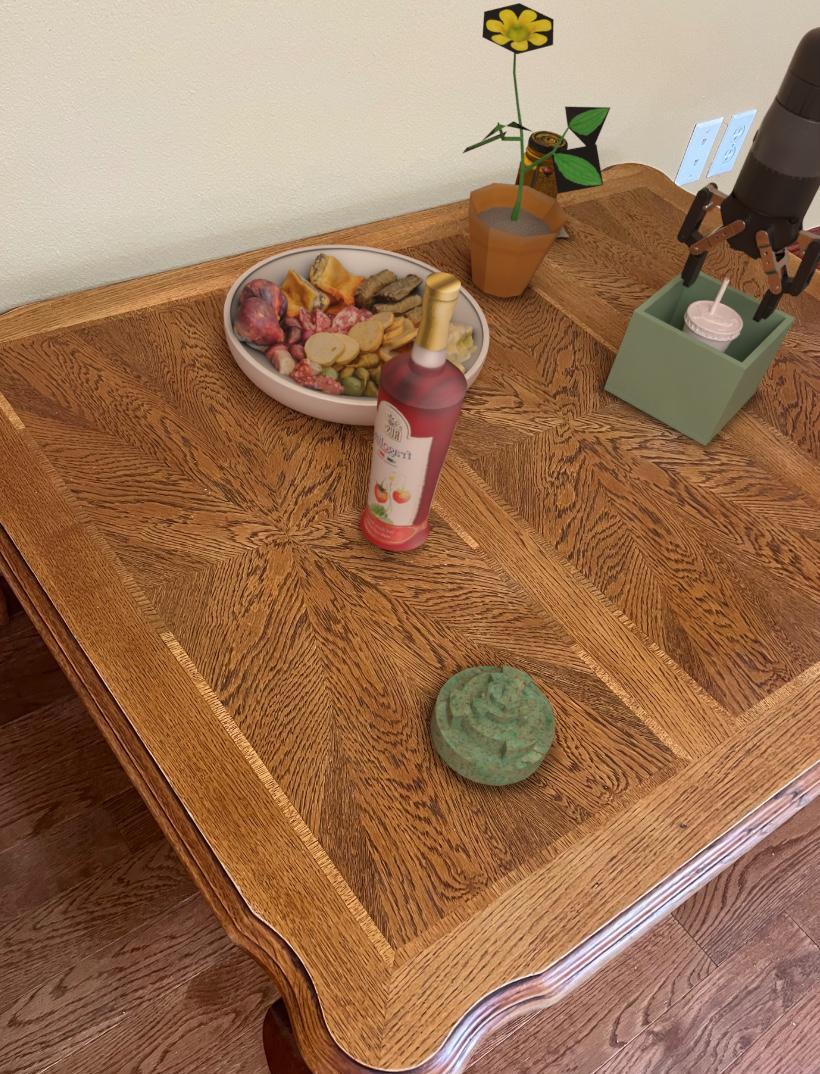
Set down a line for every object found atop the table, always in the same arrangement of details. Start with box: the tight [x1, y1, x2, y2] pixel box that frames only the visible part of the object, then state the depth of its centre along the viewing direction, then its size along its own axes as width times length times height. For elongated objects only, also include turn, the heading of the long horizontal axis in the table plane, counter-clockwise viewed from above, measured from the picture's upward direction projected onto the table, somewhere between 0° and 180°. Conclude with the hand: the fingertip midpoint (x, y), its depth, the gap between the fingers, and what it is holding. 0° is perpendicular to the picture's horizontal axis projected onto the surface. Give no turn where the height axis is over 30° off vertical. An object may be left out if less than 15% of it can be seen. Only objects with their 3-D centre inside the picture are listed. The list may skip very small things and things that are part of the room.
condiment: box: [514, 130, 570, 238], centre depth 128 cm, size 7×8×12 cm
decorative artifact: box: [430, 664, 556, 787], centre depth 77 cm, size 10×7×10 cm
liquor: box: [359, 271, 468, 552], centre depth 81 cm, size 7×7×28 cm
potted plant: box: [461, 2, 611, 299], centre depth 111 cm, size 18×19×30 cm
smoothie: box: [682, 277, 743, 353], centre depth 106 cm, size 6×6×14 cm
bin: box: [603, 270, 796, 447], centre depth 108 cm, size 14×14×11 cm
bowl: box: [223, 244, 490, 427], centre depth 106 cm, size 30×30×8 cm
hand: (722, 301), depth 103 cm, fingers open, 8 cm apart
